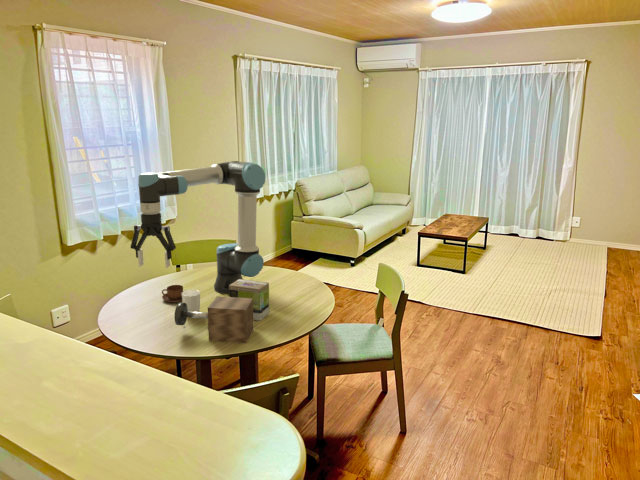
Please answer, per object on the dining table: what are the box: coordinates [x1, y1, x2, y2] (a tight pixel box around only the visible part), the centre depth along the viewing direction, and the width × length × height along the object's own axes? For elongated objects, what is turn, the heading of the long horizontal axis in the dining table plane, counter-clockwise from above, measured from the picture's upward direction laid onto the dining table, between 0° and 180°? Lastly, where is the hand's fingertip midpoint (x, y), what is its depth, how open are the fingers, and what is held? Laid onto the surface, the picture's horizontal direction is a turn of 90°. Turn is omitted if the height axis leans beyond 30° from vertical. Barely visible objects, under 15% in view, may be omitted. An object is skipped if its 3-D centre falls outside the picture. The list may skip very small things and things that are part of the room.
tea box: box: [228, 278, 270, 322], centre depth 211 cm, size 15×10×15 cm
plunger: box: [174, 302, 208, 326], centre depth 191 cm, size 16×9×9 cm, turn 85°
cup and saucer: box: [161, 284, 184, 303], centre depth 227 cm, size 12×12×6 cm
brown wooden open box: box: [207, 296, 254, 344], centre depth 191 cm, size 15×12×14 cm
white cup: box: [181, 289, 201, 312], centre depth 210 cm, size 8×8×10 cm
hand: (154, 266), depth 194 cm, fingers open, 10 cm apart
